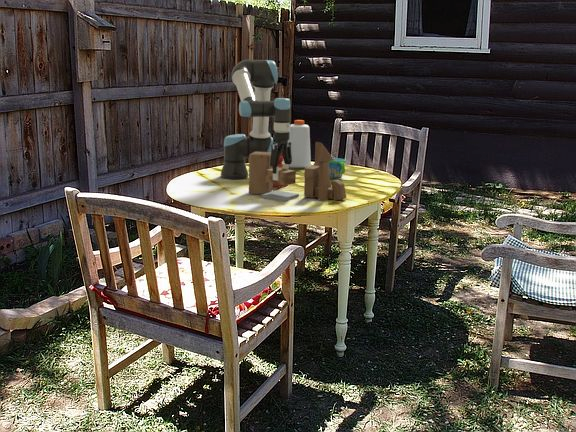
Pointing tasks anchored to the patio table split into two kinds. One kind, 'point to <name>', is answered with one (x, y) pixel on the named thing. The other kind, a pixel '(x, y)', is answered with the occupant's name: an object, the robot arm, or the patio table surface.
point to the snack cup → (337, 167)
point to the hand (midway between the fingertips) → (280, 178)
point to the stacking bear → (281, 168)
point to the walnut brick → (281, 176)
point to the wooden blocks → (322, 178)
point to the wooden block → (259, 173)
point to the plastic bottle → (300, 145)
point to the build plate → (280, 195)
